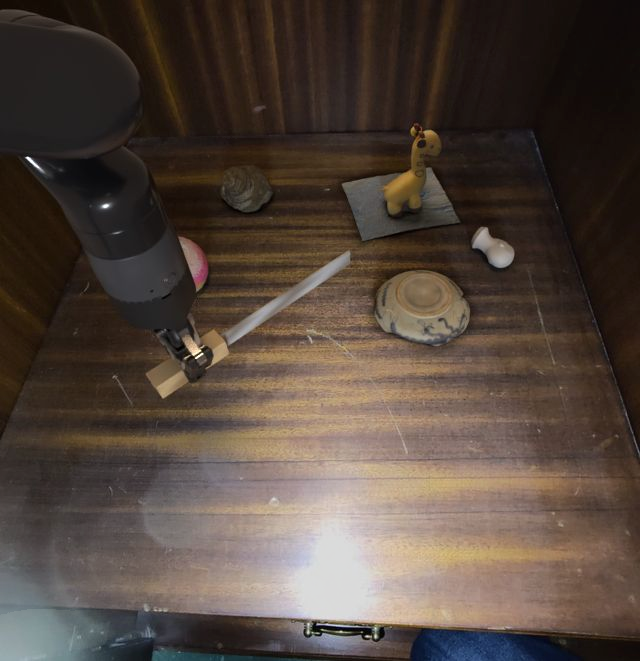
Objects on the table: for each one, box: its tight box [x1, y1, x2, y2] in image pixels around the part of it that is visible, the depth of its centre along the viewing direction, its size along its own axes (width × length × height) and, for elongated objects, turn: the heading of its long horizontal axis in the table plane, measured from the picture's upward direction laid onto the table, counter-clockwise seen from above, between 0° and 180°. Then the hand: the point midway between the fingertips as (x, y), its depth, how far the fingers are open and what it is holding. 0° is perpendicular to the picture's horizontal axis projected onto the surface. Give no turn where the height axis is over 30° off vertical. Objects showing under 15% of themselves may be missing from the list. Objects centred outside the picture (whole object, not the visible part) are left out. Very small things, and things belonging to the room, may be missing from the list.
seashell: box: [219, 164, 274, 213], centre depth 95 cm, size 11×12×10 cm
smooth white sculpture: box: [470, 226, 515, 269], centre depth 86 cm, size 4×8×5 cm
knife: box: [145, 249, 351, 399], centre depth 62 cm, size 29×2×3 cm, turn 130°
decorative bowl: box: [373, 269, 471, 347], centre depth 80 cm, size 15×4×15 cm
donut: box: [178, 235, 209, 293], centre depth 85 cm, size 14×13×5 cm
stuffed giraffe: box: [341, 123, 461, 242], centre depth 90 cm, size 16×18×16 cm
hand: (190, 368), depth 59 cm, fingers closed on knife, 2 cm apart
